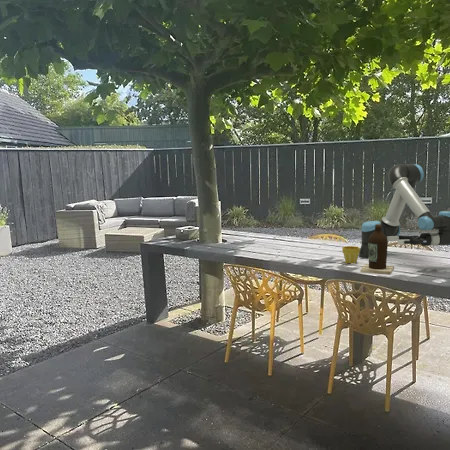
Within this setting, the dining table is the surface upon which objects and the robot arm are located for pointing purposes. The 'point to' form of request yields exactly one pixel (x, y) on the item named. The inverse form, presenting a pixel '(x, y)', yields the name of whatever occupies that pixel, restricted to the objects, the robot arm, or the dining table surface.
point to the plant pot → (351, 253)
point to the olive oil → (377, 249)
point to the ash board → (377, 270)
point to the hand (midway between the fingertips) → (392, 240)
